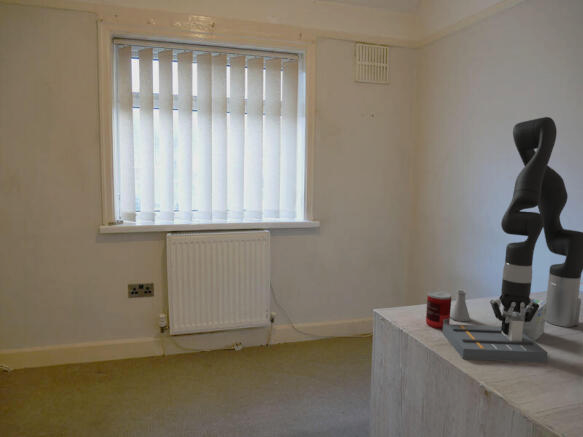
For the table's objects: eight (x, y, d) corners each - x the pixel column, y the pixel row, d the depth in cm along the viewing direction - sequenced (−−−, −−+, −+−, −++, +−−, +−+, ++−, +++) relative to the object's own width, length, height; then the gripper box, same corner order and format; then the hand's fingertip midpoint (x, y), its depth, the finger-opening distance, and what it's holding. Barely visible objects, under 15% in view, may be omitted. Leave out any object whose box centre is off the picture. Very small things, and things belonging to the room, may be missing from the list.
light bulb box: (522, 326, 138) (525, 296, 137) (544, 333, 133) (548, 301, 132) (511, 335, 131) (515, 303, 129) (535, 342, 126) (538, 309, 125)
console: (514, 335, 130) (515, 325, 130) (546, 362, 112) (547, 350, 112) (442, 332, 131) (443, 322, 131) (462, 358, 114) (463, 346, 113)
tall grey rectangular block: (511, 333, 124) (513, 312, 123) (522, 342, 118) (524, 320, 117) (501, 332, 124) (503, 312, 124) (510, 341, 118) (513, 319, 117)
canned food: (448, 322, 141) (451, 291, 139) (449, 330, 133) (452, 298, 132) (425, 319, 143) (427, 289, 142) (425, 327, 136) (427, 295, 134)
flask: (466, 315, 148) (468, 289, 147) (473, 322, 141) (475, 295, 140) (446, 314, 149) (448, 288, 147) (452, 321, 141) (454, 294, 140)
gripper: (534, 275, 122) (528, 330, 124) (487, 274, 123) (482, 328, 125) (548, 282, 115) (542, 340, 117) (498, 281, 115) (493, 338, 118)
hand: (511, 333), depth 121 cm, fingers closed on tall grey rectangular block, 3 cm apart
